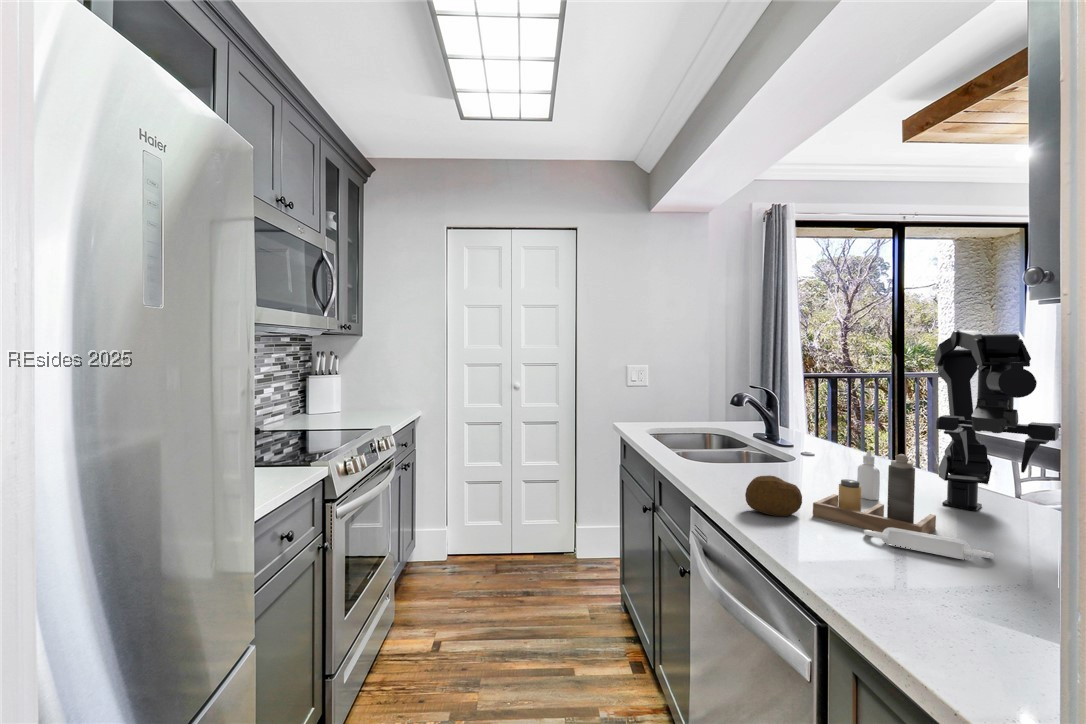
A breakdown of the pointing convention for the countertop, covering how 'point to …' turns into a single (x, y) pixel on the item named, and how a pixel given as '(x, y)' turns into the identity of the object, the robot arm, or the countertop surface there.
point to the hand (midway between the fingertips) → (993, 468)
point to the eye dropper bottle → (869, 478)
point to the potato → (773, 496)
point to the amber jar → (850, 495)
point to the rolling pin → (928, 543)
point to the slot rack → (868, 517)
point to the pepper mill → (901, 489)
